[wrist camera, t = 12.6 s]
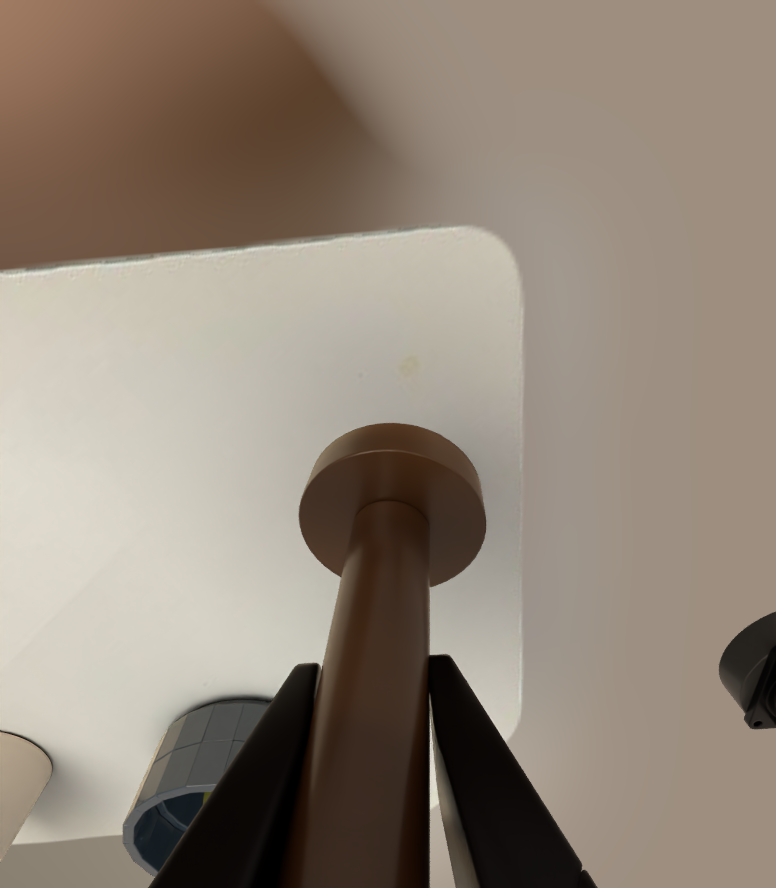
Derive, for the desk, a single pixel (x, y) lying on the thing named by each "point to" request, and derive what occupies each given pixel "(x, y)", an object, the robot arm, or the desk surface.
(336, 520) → the stirring stick
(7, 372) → the desk surface
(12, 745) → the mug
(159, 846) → the bowl
